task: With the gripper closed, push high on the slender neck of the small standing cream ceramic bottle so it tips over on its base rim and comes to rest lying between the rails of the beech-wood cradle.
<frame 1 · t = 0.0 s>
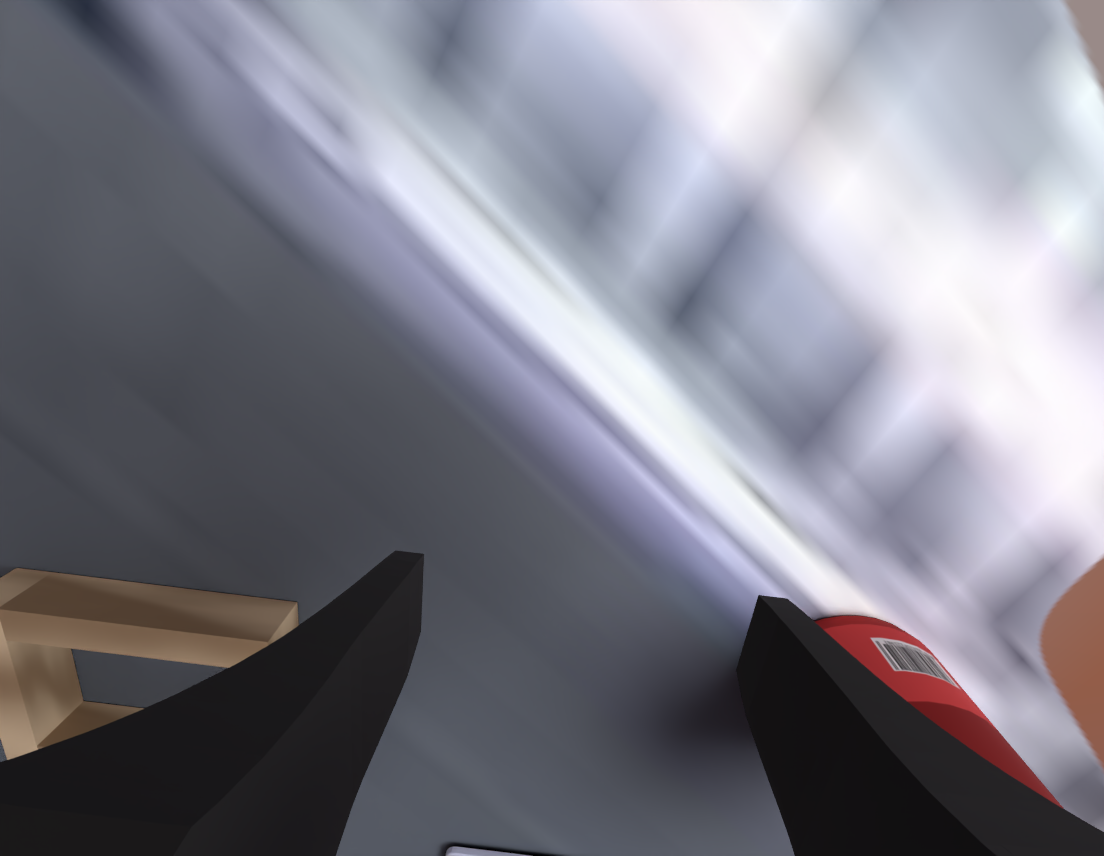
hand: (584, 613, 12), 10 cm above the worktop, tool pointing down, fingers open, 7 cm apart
cradle: (186, 667, 26), on the worktop
canned food: (834, 675, 25), on the worktop
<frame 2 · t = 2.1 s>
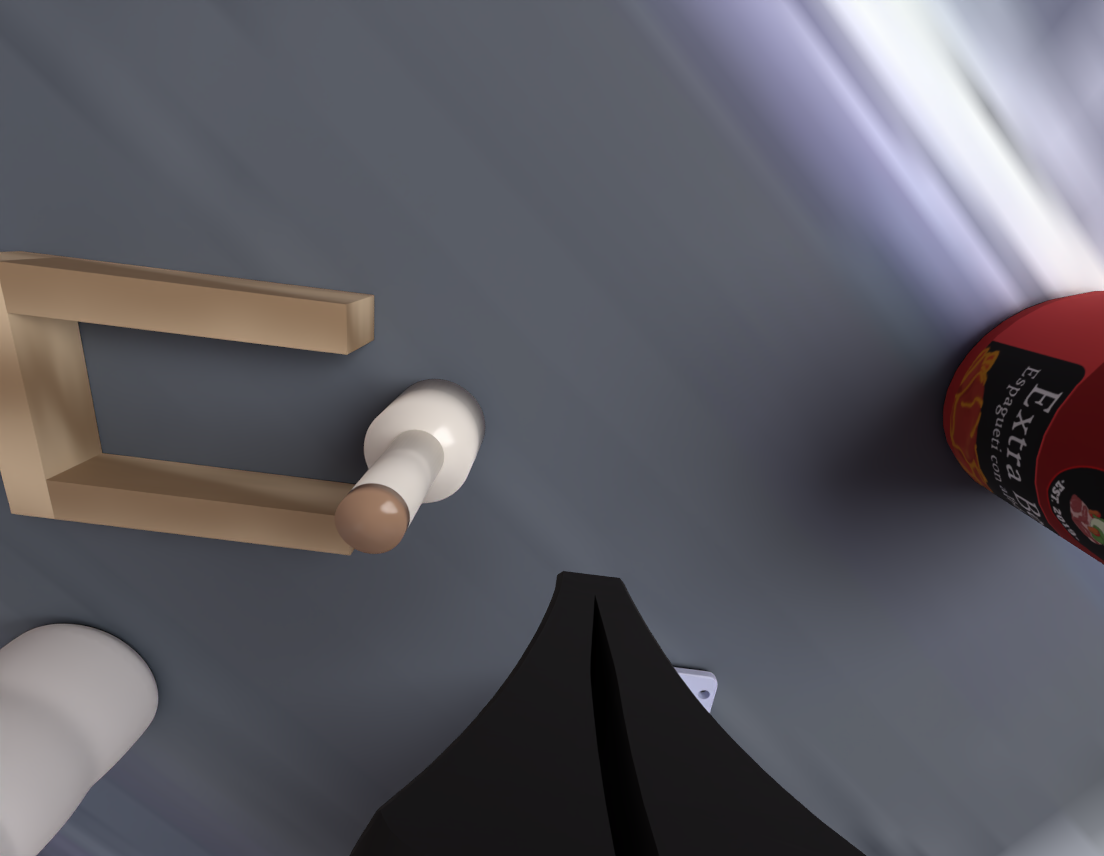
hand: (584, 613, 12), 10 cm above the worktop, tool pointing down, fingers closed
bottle: (438, 424, 21), on the worktop
cradle: (231, 399, 21), on the worktop
water bottle: (96, 672, 26), on the worktop
canned food: (1045, 394, 20), on the worktop
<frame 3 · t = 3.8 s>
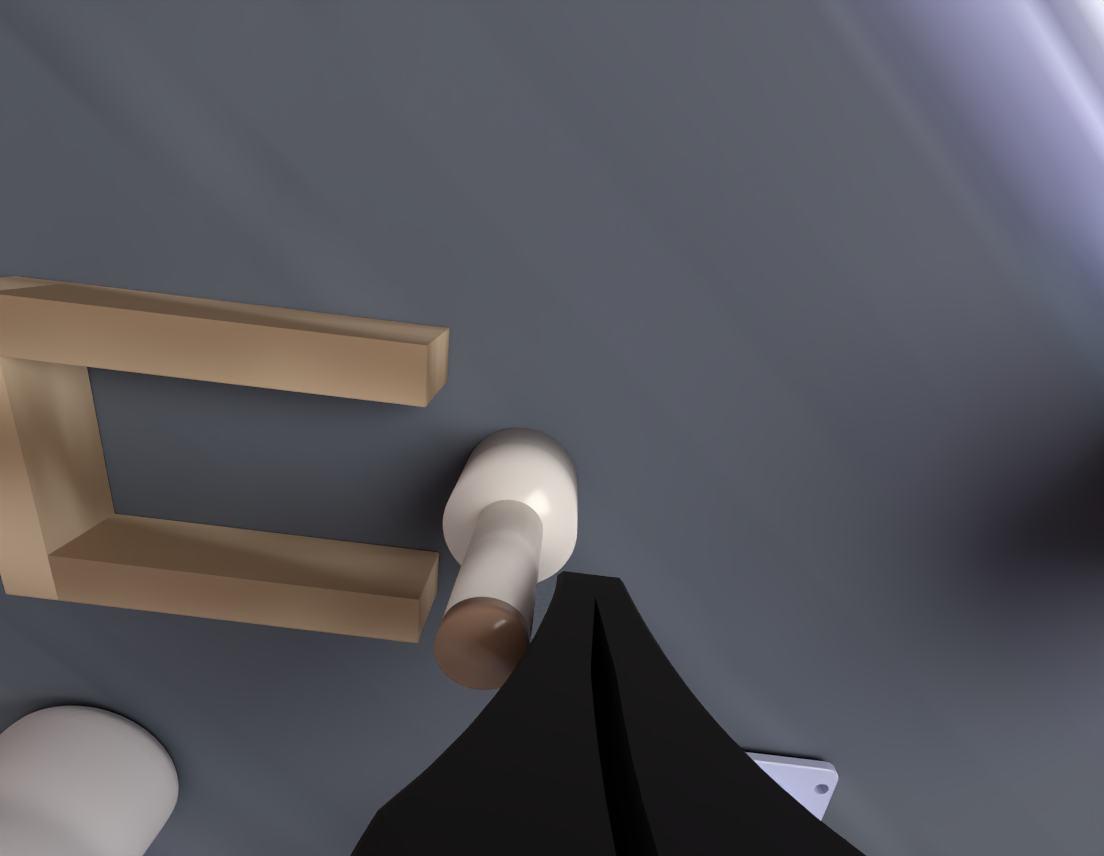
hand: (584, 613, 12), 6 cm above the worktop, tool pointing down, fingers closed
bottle: (520, 480, 17), on the worktop, touching gripper
cradle: (270, 451, 17), on the worktop
water bottle: (107, 756, 23), on the worktop
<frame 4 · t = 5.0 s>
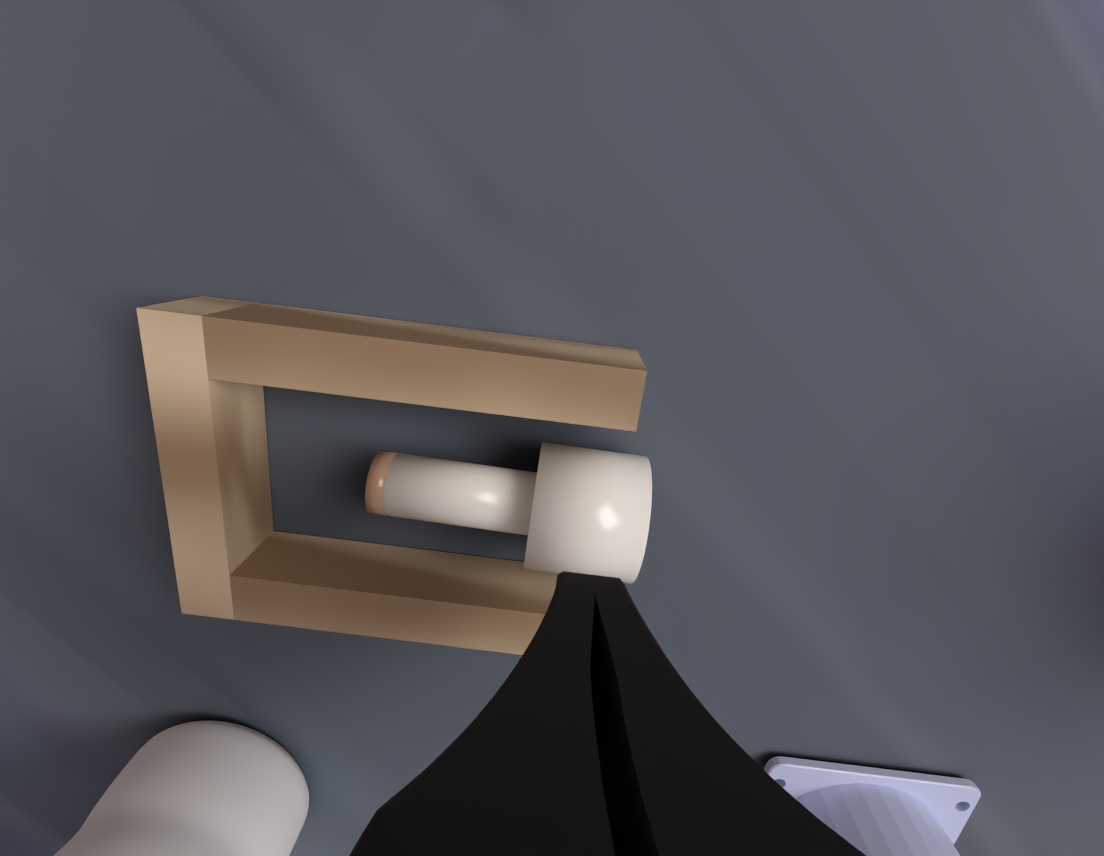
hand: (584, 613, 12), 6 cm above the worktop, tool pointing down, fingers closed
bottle: (636, 518, 16), point 2 cm above the worktop, tilted 90°
cradle: (439, 470, 17), on the worktop
water bottle: (234, 770, 23), on the worktop
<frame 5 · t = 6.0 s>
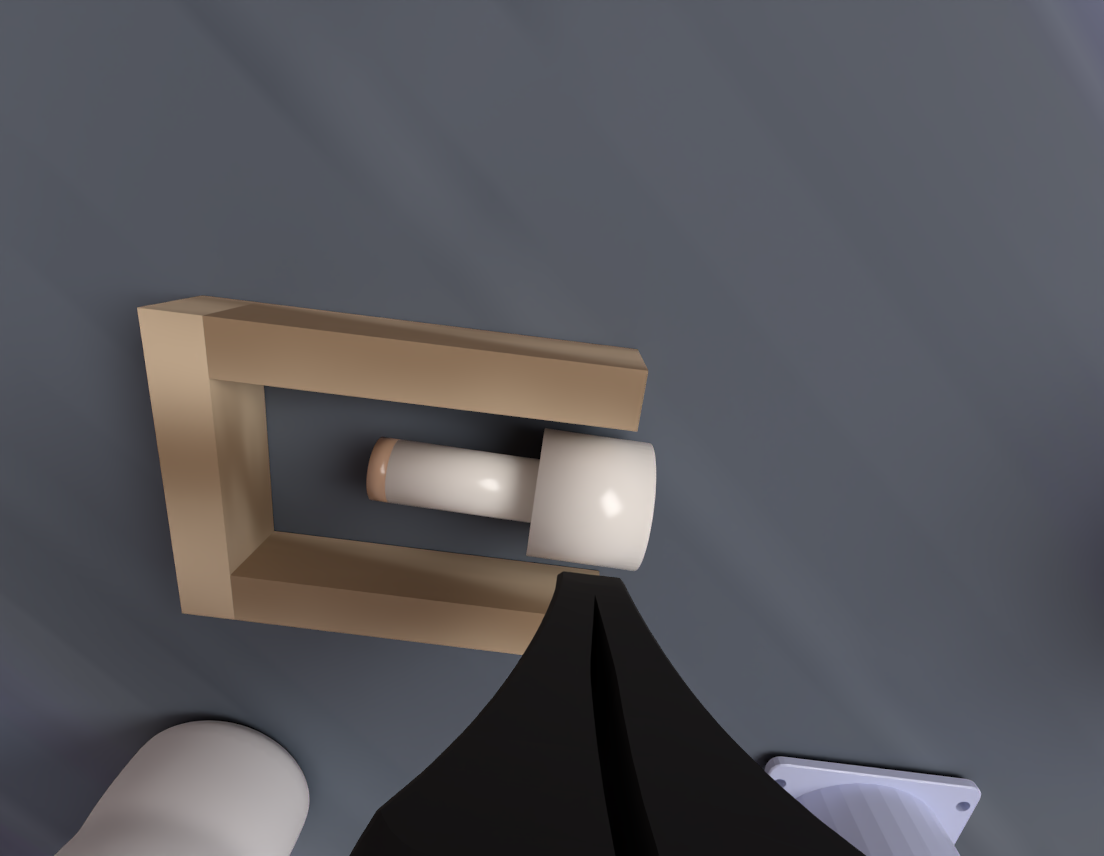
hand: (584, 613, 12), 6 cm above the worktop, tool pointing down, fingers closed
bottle: (640, 506, 15), point 2 cm above the worktop, tilted 90°
cradle: (440, 470, 17), on the worktop
water bottle: (234, 770, 23), on the worktop
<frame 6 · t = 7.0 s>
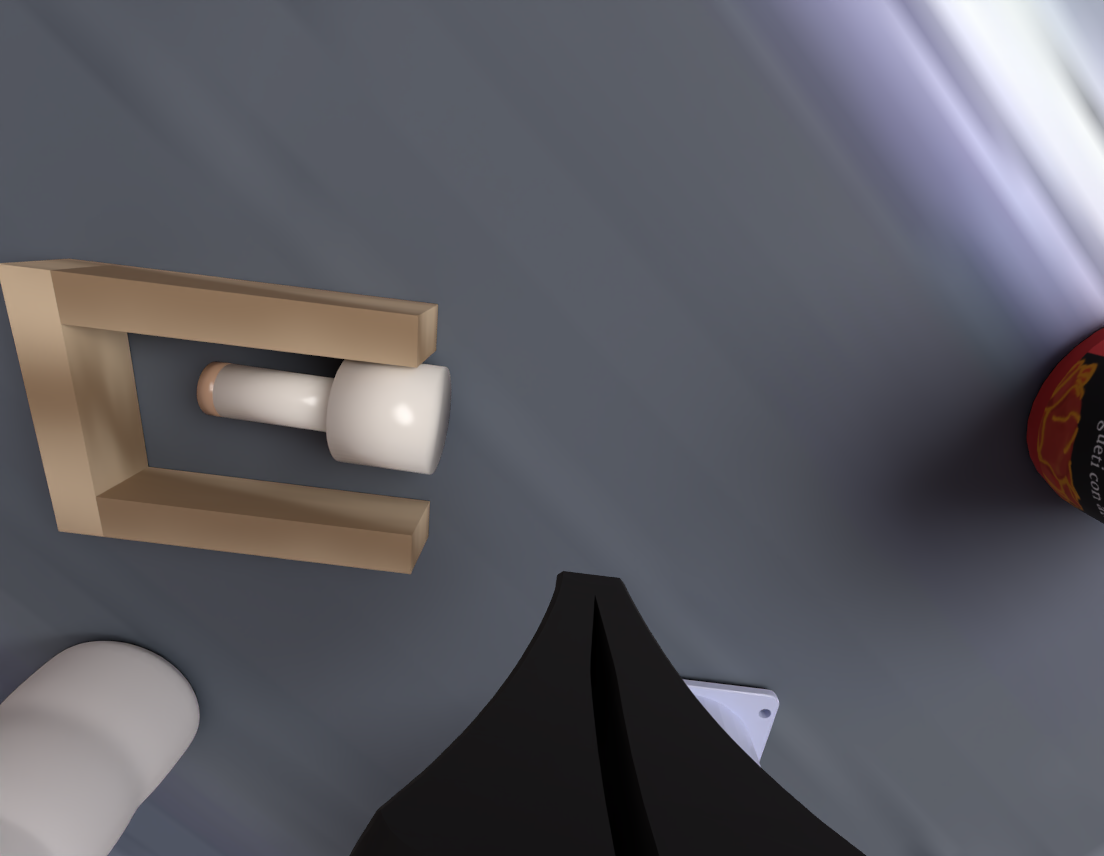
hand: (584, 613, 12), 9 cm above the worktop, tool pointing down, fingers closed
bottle: (438, 420, 18), point 2 cm above the worktop, tilted 90°
cradle: (284, 411, 20), on the worktop
water bottle: (135, 689, 26), on the worktop
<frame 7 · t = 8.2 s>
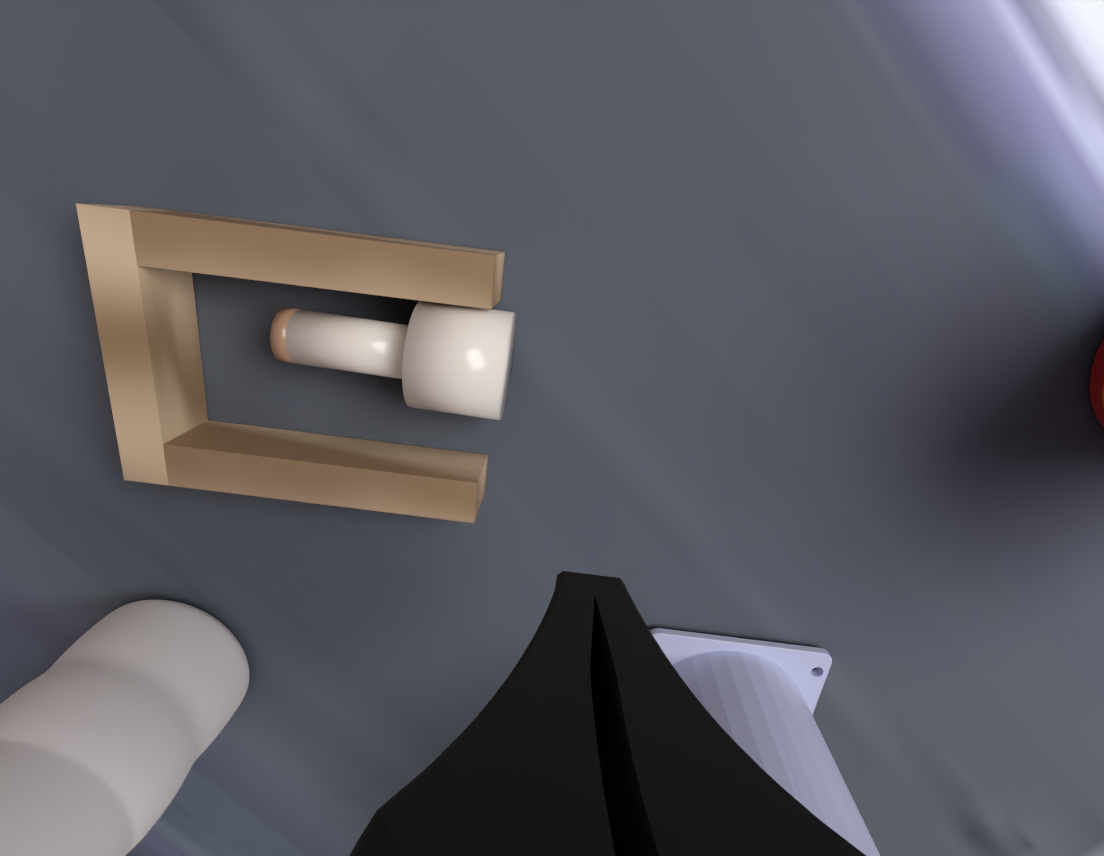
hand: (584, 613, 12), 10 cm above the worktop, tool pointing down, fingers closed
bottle: (507, 367, 18), point 2 cm above the worktop, tilted 90°
cradle: (347, 362, 20), on the worktop
water bottle: (184, 651, 26), on the worktop
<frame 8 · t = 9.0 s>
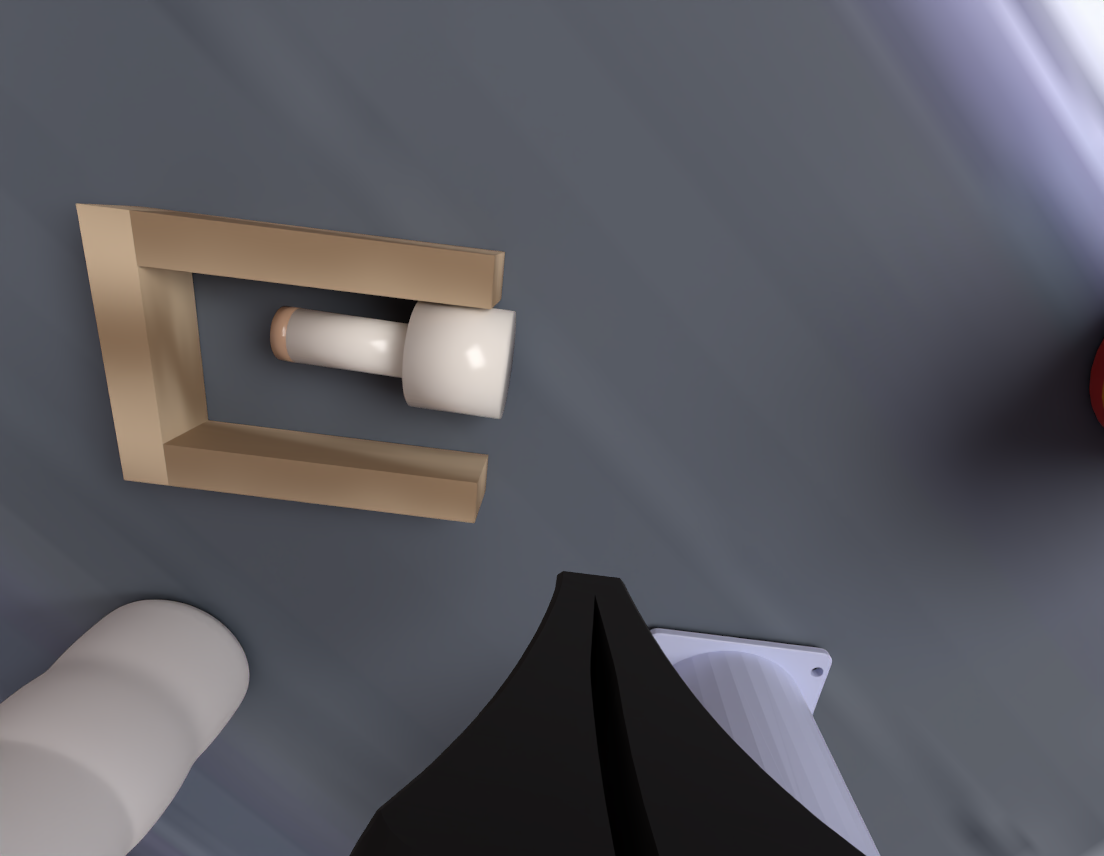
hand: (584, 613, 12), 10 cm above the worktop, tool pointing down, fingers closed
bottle: (507, 365, 18), point 2 cm above the worktop, tilted 90°
cradle: (347, 362, 20), on the worktop
water bottle: (184, 651, 26), on the worktop
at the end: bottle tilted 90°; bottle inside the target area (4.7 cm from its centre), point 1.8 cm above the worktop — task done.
